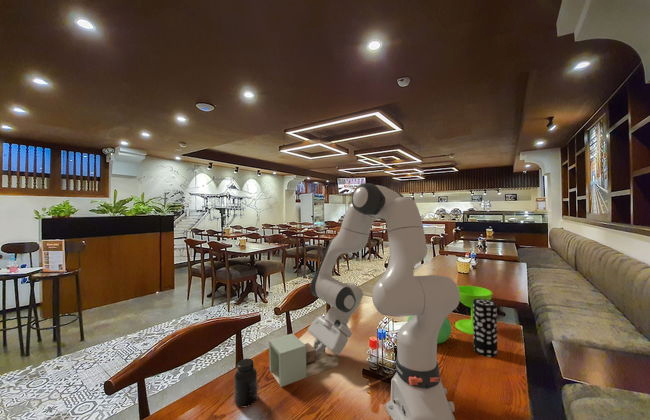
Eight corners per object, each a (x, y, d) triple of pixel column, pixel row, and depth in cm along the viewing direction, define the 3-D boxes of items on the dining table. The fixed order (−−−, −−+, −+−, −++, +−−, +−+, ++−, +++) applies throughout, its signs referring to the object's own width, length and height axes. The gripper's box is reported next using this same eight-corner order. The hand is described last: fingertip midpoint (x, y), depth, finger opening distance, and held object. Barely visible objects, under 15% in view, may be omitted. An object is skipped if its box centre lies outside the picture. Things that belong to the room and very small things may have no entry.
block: (308, 360, 107) (308, 342, 106) (316, 368, 101) (315, 349, 101) (289, 367, 102) (289, 348, 102) (296, 375, 97) (295, 356, 97)
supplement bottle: (230, 404, 85) (229, 366, 84) (244, 390, 91) (243, 354, 91) (248, 410, 82) (247, 370, 82) (261, 395, 88) (260, 358, 88)
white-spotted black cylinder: (470, 345, 116) (470, 298, 116) (492, 347, 115) (492, 299, 114) (477, 356, 108) (476, 305, 108) (501, 358, 106) (500, 306, 106)
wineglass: (455, 318, 143) (455, 284, 143) (491, 324, 136) (491, 287, 135) (454, 331, 129) (453, 293, 129) (494, 338, 122) (493, 298, 121)
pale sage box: (293, 362, 106) (292, 333, 106) (306, 377, 96) (305, 345, 96) (269, 370, 101) (268, 340, 101) (281, 387, 92) (280, 353, 91)
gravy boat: (408, 348, 115) (407, 313, 115) (406, 330, 131) (405, 299, 131) (455, 353, 111) (454, 316, 110) (447, 333, 127) (446, 302, 127)
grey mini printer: (323, 353, 113) (323, 344, 113) (338, 366, 103) (338, 356, 103) (269, 372, 101) (269, 362, 101) (281, 388, 92) (280, 378, 91)
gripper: (316, 309, 117) (296, 338, 112) (344, 326, 99) (321, 362, 94) (326, 317, 119) (306, 345, 114) (354, 335, 102) (333, 370, 97)
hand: (313, 353), depth 104 cm, fingers closed
